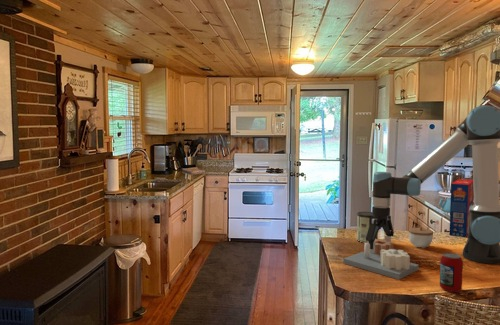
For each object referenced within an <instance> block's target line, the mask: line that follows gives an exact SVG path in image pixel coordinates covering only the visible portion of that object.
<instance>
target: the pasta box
mask: <svg viewBox="0 0 500 325" xmlns="http://www.w3.org/2000/svg"><path fill="white" fill-rule="evenodd" d="M450 185H451V186H450V199H451V205H450V213H449V231H448V232H449V236H451V237H458V238H467V239H468V223H469V212H468V211H469V207H470V206H471V205H474V188H473V179H462V178H458V179H456V180H455V181H453V182H452V183H451V184H450Z"/></svg>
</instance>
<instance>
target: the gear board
mask: <svg viewBox="0 0 500 325" xmlns="http://www.w3.org/2000/svg"><path fill="white" fill-rule="evenodd" d="M363 247H364V248H363V250H364V251H361V252H357V253H355V254H352V255H350V256H347V257H344V258H343V264H344V265H348V266H351V267H355V268H358V269H362V270H365V271H369V272H372V273H376V274H378V275H382V276H386V277H389V278H392V279H396V280H401V279H403V278H405V277H407V276H409V275H411V274H413V273H415V272H417V271H418V270H419V265H420V264H416V263H414V262H410V263H409V269H401V270H396V269H395V268H391V269H387V268H385V266H382V265H381V262H380V255H378V254H374V253H370V244H369V243H364V246H363ZM398 250H399V249H394V250H392V254H398Z"/></svg>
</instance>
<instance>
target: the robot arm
mask: <svg viewBox="0 0 500 325" xmlns="http://www.w3.org/2000/svg"><path fill="white" fill-rule="evenodd" d="M499 143H500V110H499V109H498V108H496V107H495V106H492V105H488V104H487V105H486V104H485V105H478V106H476V107H474V108H473V109H472V110H470V111H469V113H468V115H466V117H465V119H463V121H462V122H461V123H460V124H459V125H457V127H456V129H455V132H453V133H452V134H451V135H450V136H448V137H447V138H446V139H445V140H444V141H443V142H442V143H441V144H440V145H438V146H437V147H436V148H435V149H434V150H433V151H431V152H430V153H429V154H428V155H427V156H425V157H424V158H423V159H421V161H420V162H419V163H418V164H416V165H415V166H414V167H412V169H411V170H409V171H408V172H407V173H406V174H405V175H403V176H402V177H395V176H392V173H391V172H388V171H375V172H374V173H373V181H372V206H371V207H372V208H371V212H372V214H373V215H374V216H375V218H374V219H370V225H369V229H368V232H367V236H366V241H369V244H370V253H374V254H375V242H374V241H375V238H376V236H377V233H378V234H379V231H380V230H381V229H382V231H383V232H384V234H385V235H384V239H383V240H385V241H388V242H392V237H394V233H395V231H394V228H393V223H392V216H391V195H401V196H402V195H403V196H410V197H413V196H416V197H418V196H420V195H421V189H422V188H421V187H422V184H423V183H424V182H425V181H427V179H428V178H430V177H432V175H433V174H435V173H436V172H437V171H438V170H440V169H441V168H442V167H443V166H444V165H446V164H447V163H449V161H451V160H452V159H453V158H454V157H455V156H457V155H458V154H459V153H460V152H461V151H462V150H463V149H465V148H466V147H467V146H468V145H469V144H470V145H471V155H472V156H471V157H472V160H471V161H472V180H473V188H474V205H471V206H470V207H469V211H468V212H469V223H468V236H467V240H466V241H465V244H464V247H463V249H462V257H463V258H465V259H466V260H469V261H472V262H477V263H483V264H490V265H491V264H492V265H493V264H494V265H496V264H497V265H498V264H500V186H499V185H500V180H499V153H498V152H499V151H498V150H499V149H498V145H499Z"/></svg>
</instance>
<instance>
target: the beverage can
mask: <svg viewBox="0 0 500 325" xmlns="http://www.w3.org/2000/svg"><path fill="white" fill-rule="evenodd" d="M461 256H462V255H460V254H458V253H454V252H443V253H442V255H441V257H440V265H439V267H440V268H439V269H440V270H439V287H441V288H442V290H445V291H447V292H449V293H457V292H460V291H462V288H463V268H464V267H463V265H464V263H463V259H462V257H461Z"/></svg>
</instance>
